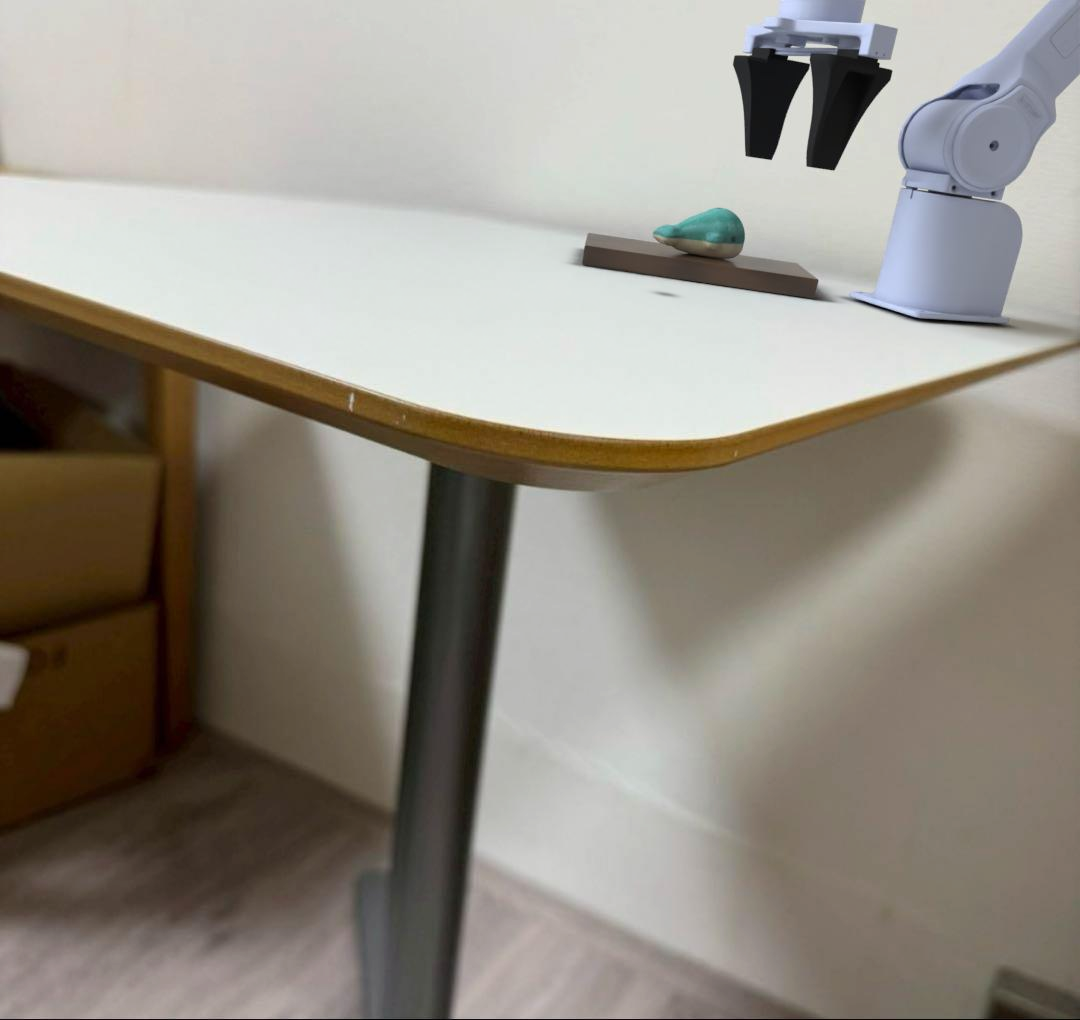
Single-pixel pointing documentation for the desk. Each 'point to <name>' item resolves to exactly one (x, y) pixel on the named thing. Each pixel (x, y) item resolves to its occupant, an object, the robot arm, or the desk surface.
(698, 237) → the whale figurine
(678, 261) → the walnut board
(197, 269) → the desk surface
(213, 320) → the desk surface
